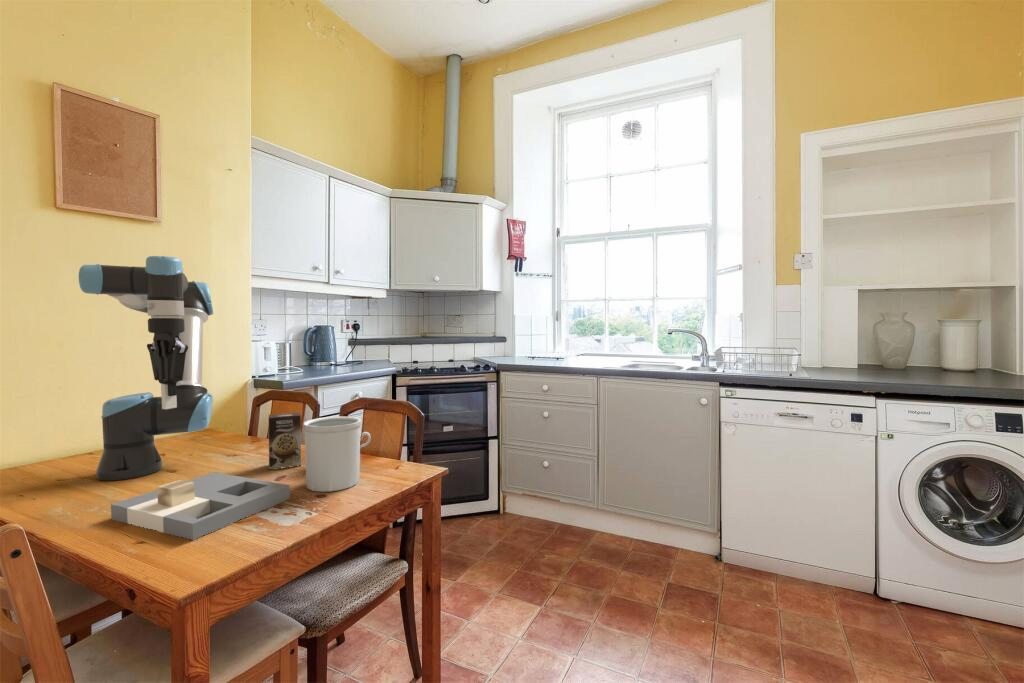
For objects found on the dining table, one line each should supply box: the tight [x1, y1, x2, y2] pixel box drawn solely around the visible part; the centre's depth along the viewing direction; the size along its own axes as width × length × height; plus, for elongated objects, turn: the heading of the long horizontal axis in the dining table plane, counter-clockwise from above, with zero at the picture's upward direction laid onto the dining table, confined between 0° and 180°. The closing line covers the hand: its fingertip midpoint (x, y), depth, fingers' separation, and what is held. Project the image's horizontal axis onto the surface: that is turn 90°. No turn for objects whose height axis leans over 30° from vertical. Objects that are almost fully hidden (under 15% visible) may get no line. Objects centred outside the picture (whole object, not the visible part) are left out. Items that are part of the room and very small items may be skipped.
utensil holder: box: [302, 416, 362, 493], centre depth 126 cm, size 15×15×18 cm
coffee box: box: [268, 412, 302, 470], centre depth 143 cm, size 9×6×16 cm
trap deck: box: [110, 471, 291, 541], centre depth 109 cm, size 28×24×4 cm
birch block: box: [156, 479, 195, 507], centre depth 105 cm, size 5×5×4 cm
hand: (169, 408), depth 118 cm, fingers closed
